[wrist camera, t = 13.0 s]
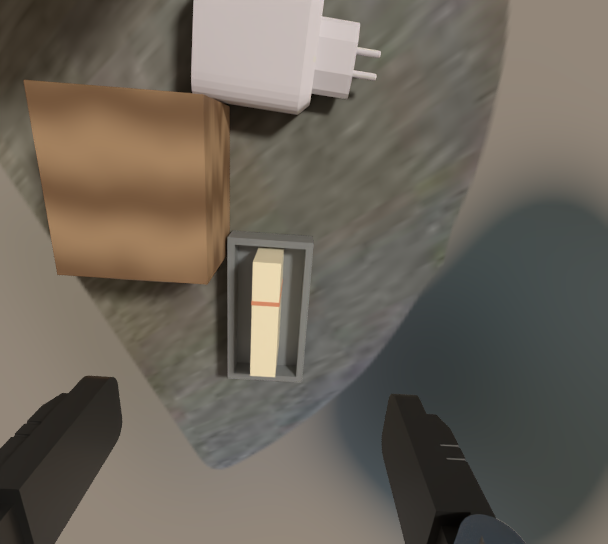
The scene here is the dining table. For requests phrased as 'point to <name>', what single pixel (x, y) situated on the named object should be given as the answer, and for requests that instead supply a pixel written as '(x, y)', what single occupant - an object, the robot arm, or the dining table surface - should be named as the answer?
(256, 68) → the charger
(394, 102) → the dining table surface
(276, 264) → the cream rectangular block
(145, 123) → the wooden block
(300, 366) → the tray
